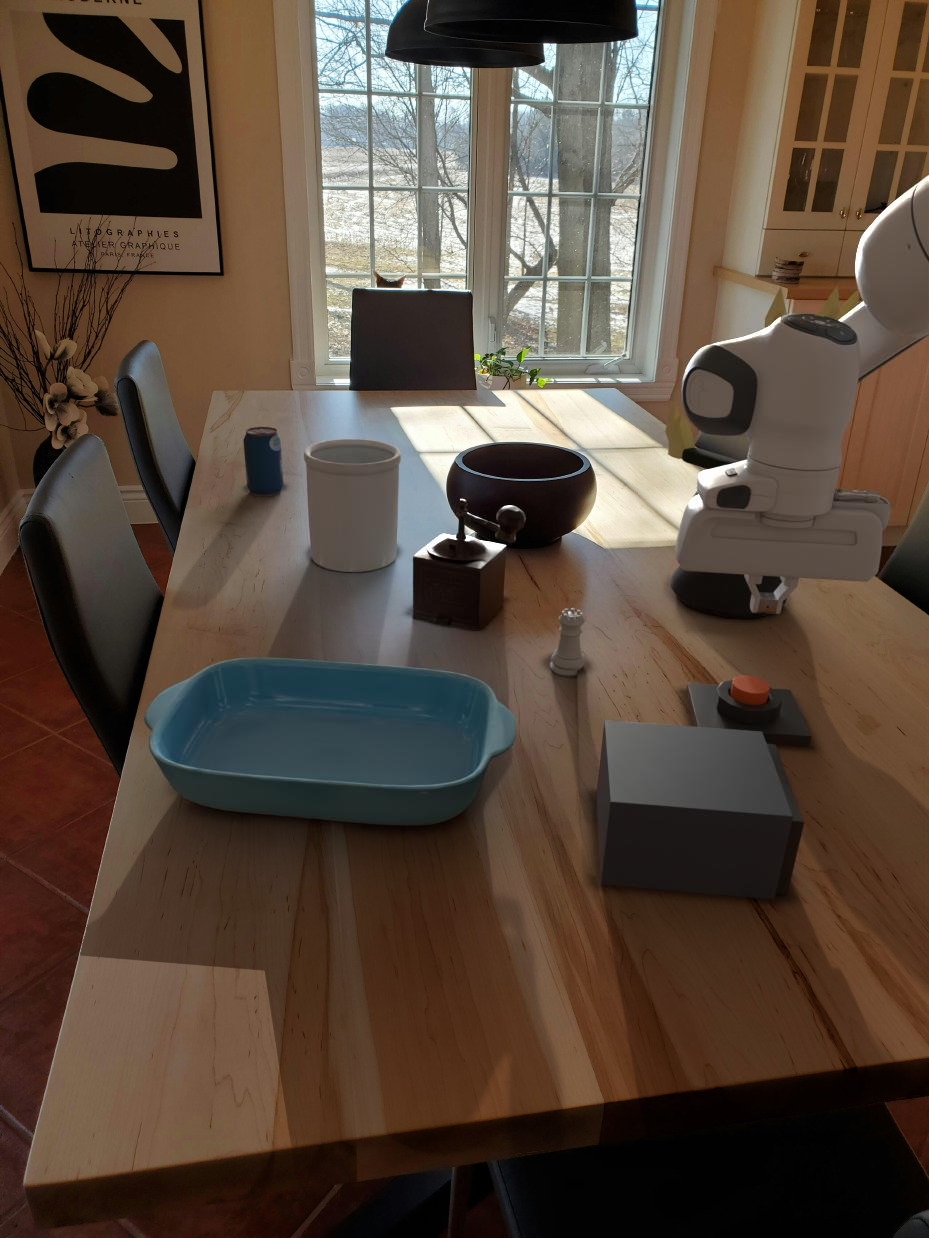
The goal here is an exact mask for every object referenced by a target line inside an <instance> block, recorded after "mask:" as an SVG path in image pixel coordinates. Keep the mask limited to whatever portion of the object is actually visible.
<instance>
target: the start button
mask: <svg viewBox="0 0 929 1238" xmlns="http://www.w3.org/2000/svg"><path fill="white" fill-rule="evenodd" d="M732 680H733V682H732V687H731V693H730V696H731V697H732V698H733V699H735V700H736V701H738V702H741V703H744V704H747V705H762V704H766V702H767V699H768V694H769V689H770V687H771V686H770V684H769V683H768V682H767V681H766V680H764V679H763V678H760V677H757V676H755V675H754V676H753V675H747V674H746V675H745V674H744V675H738V676H735V677H734V678H733V679H732Z"/></svg>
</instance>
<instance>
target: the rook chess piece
mask: <svg viewBox="0 0 929 1238" xmlns="http://www.w3.org/2000/svg"><path fill="white" fill-rule="evenodd" d="M557 620H558V621H559V623H560V625H561V627H559V629H558V630H559V632H560V636H559V641H558V644H557V648H556V649H555V650H554V653H552V655H551V657H550V661H551V662H550V663H549V667H550V669H551V670H552V672H553V673H554V674H555V675H557V676H560V677H563V678H576V677H578V671H580V670H582V668H583V667H584V665H586V657H585V656H584V655H583V651H582V648H581V634H582V633H583V630H582V628H581V627H582V625H583V624H584V623H585V622H586V619H585V617H584V616H583V612H582V610H581V609H577V610H576V608H574V607H571V608H570V611H569V608H567V607H566V608H564V609H563V610H562V611H561V614H560V615H559V616H558V619H557Z"/></svg>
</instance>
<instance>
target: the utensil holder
mask: <svg viewBox="0 0 929 1238" xmlns="http://www.w3.org/2000/svg"><path fill="white" fill-rule="evenodd" d="M303 459H304V462H305V467H306V490H307V491H306V494H307V511H308V512H307V513H308V516H307V517H308V531H309V543H310V555H311V559H312V561H313V562H314V563H315V564H317V565H318V566H319V567H321V568H324V569H327V570H331V571H335V572H342V573H362V572H370V571H371V572H372V571H375V570H380V569H382V568H385V567H387V566H389V565H391V564H392V563H393V562H394V561H395V560H396V559H397V552H398V551H397V549H398V548H397V547H398V530H399V529H398V526H399V491H400V489H399V488H400V463H401V462H402V461H401V459H402V454H401V451H400V449H399V448H398V447H396V446H395V445H393V444H390V443H387V442H384V441H380V440H374V439H365V438H338V439H328V440H323V441H319V442H315V443H312V444H309V445H308V446H306V447H305V449H304V450H303Z"/></svg>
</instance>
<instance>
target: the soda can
mask: <svg viewBox="0 0 929 1238" xmlns="http://www.w3.org/2000/svg"><path fill="white" fill-rule="evenodd" d="M242 441H243V442H242V443H243V453H244V465H245V466H244V468H245V478H246V479H245V480H246V487H247V489H248V490H249V492H250V493H251V495H254V496H257V497H272V496H277V495H279V494H280V493H281V492H282V491H283V488H284V485H285V482H284V467H283V454H282V438H281V437H280V435H279V433H278V429H277V428H275V427H271V426H255V427H250V428H248V429H246V430H245V435H244V438H243V440H242Z"/></svg>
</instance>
